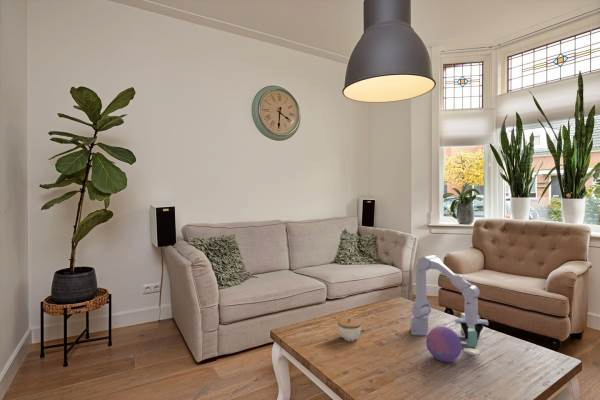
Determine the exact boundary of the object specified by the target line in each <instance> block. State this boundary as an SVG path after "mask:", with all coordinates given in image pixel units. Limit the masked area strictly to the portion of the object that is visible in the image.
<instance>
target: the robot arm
mask: <svg viewBox="0 0 600 400" xmlns="http://www.w3.org/2000/svg"><path fill="white" fill-rule="evenodd" d="M429 270H438V271H439V272H440V273H442V274H443V275H444V276H446V277H447V278H448V279H449V280H450V283H451V285H453V286H454V287H455V288H457V290H459V292H461V295H462V297H463V298H464V313H465V318H461V317H454V323H455V324H457V325H458V324H460V327H461V326H462V328H463V331H464V334H465V338H466V339H468V326H467V324H475V330H476V331H477V341H478V340H479V337H480V335H481V332H482V330H483V329H484V326H483V325H485V326H489V321H488V319H481V318H480V319H478V316H479V299H478V298H479V296H480V294H481V290H480V289H479V287H478V285H475V284H472V283H470V282H469V281H467V280H466V278H465V277H464V276H463V275H460V274H456V273H454V272H453V271H452V270H451V269H450V268H449V267H448V266H447V265H446V264H444V263H443V262H442V260H441V258H439V257H438V256H437V255H435V254H430V255H426V256H421V257H419V258H418V259H417V264H416V265H415V300H414V301H413V303H412V308H411V314H412V315H410V318H409V321H410V323H409V324H410V327H409V329H410V333H411V335H412V336H414V335H415V336H426V337H427V335H428V333H429V332H430V330H429V314H431V313H432V310H431V306H430V301H429V300H428V299H427V272H428V271H429ZM479 334H480V335H479Z"/></svg>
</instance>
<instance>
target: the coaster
mask: <svg viewBox="0 0 600 400" xmlns="http://www.w3.org/2000/svg"><path fill="white" fill-rule="evenodd" d="M463 352H464V353H465V354H467V355H470V356H479V355H480V350H479V349H476V348H463Z"/></svg>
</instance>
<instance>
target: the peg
mask: <svg viewBox="0 0 600 400" xmlns="http://www.w3.org/2000/svg"><path fill="white" fill-rule="evenodd" d="M465 342H466V343H467V345H468V346H475V347H478V340H477V331H476V330H475V329H472V328H468V339H466V341H465Z"/></svg>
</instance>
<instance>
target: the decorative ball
mask: <svg viewBox="0 0 600 400" xmlns="http://www.w3.org/2000/svg"><path fill="white" fill-rule="evenodd" d="M458 335H459V334H457V333H456V332H455V331H454V330H453V329H451V328H449V327H446V326H436V327H434V328H432V329H431V330H429V333H428V335H427V336H426V340H425V341H426V342H425V343H426V348H427V351H428V352H429V353H430V355H432V357H434V358H435V359H436V360H438V361H441V362H446V363H448V362H450V363H451V362H453V361H455V360H457V358H459V357H460V355H461V352H462V348H463V347H462V345H461V341H460V338H459V337H458Z"/></svg>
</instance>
